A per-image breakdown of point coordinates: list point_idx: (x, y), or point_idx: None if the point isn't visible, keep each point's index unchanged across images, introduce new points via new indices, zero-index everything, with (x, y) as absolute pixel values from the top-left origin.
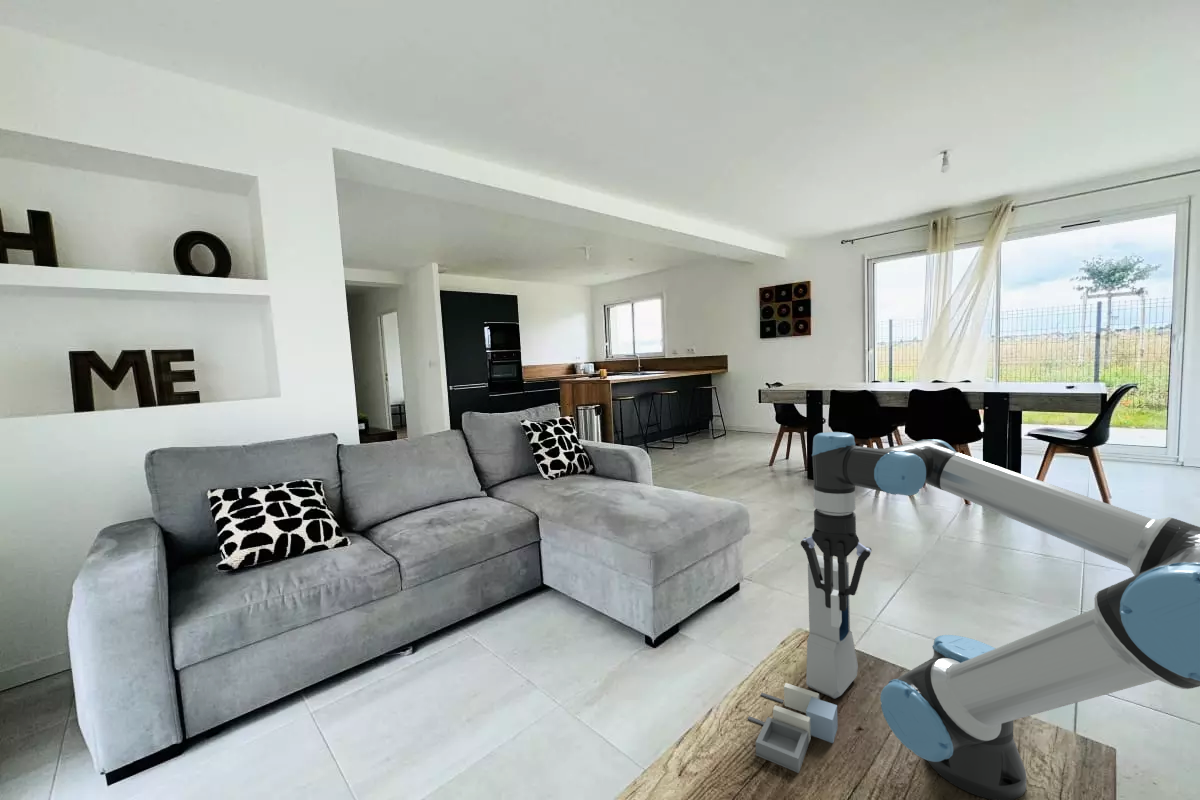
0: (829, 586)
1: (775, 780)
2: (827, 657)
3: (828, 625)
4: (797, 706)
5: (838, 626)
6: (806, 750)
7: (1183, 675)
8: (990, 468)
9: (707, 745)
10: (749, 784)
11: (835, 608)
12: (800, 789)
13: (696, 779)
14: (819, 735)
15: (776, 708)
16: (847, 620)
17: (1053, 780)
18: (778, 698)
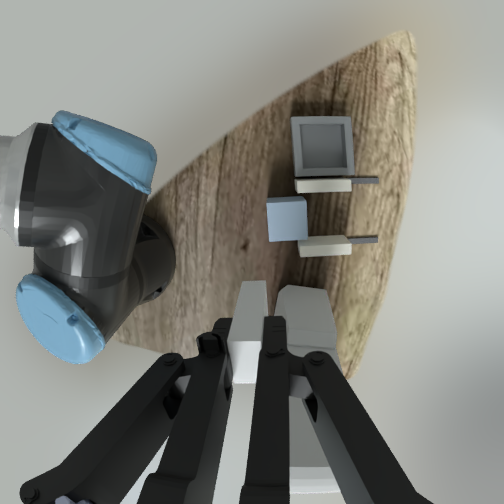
0: (263, 367)
1: (309, 93)
2: (299, 318)
3: None
4: (326, 237)
5: (244, 282)
6: (293, 163)
7: None
8: None
9: (399, 106)
10: (332, 73)
11: (247, 311)
12: (279, 97)
13: (382, 54)
14: (285, 197)
15: (347, 184)
16: None
17: None
18: (354, 243)
